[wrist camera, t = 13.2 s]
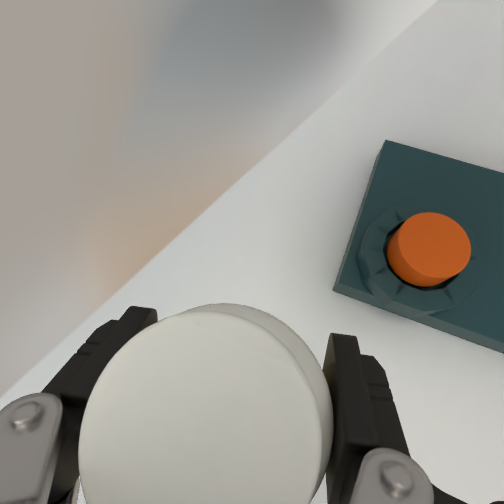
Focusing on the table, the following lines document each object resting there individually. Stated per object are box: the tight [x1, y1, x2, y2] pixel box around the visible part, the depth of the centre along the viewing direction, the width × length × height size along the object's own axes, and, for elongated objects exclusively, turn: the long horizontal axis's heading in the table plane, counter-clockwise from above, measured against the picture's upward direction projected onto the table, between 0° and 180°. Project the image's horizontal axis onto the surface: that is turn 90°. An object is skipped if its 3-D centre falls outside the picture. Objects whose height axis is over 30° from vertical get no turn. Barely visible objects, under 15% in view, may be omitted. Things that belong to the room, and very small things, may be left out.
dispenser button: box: [387, 212, 471, 287], centre depth 20 cm, size 4×4×2 cm
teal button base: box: [333, 140, 504, 353], centre depth 23 cm, size 14×12×4 cm
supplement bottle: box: [78, 303, 334, 504], centre depth 10 cm, size 5×5×10 cm
